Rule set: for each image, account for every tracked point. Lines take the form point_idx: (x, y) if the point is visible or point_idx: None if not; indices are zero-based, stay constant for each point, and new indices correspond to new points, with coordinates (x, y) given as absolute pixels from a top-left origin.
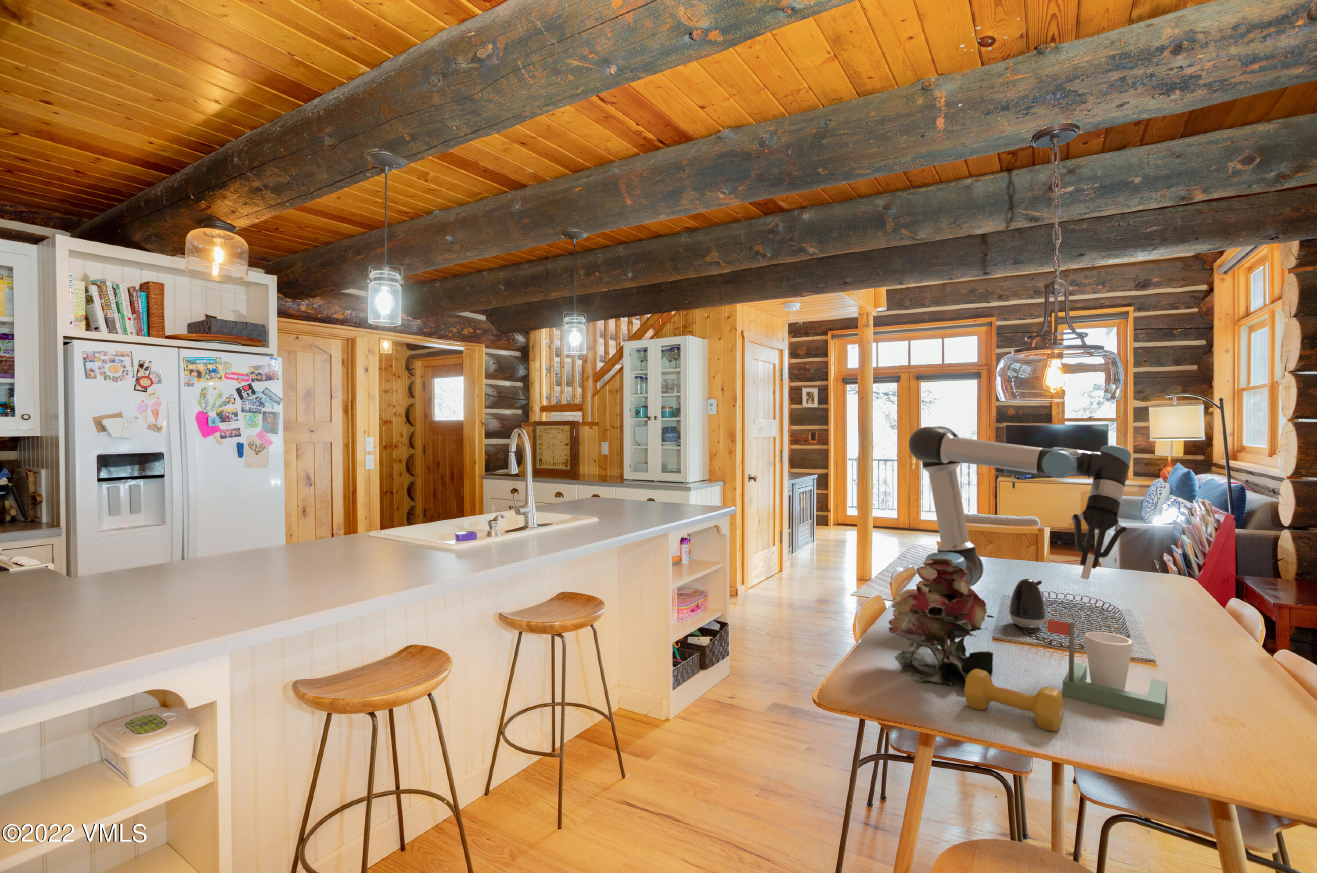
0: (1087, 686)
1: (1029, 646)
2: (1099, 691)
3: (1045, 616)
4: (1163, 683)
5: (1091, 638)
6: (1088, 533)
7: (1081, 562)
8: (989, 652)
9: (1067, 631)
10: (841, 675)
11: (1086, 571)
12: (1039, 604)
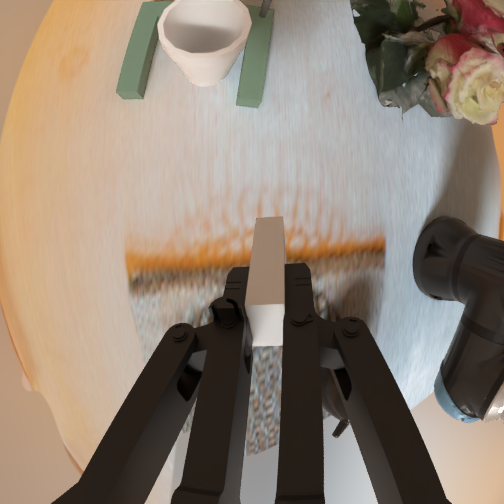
0: None
1: (330, 241)
2: None
3: None
4: (122, 80)
5: (238, 3)
6: (322, 453)
7: (306, 266)
8: (385, 34)
9: None
10: None
11: (272, 231)
12: (328, 379)
